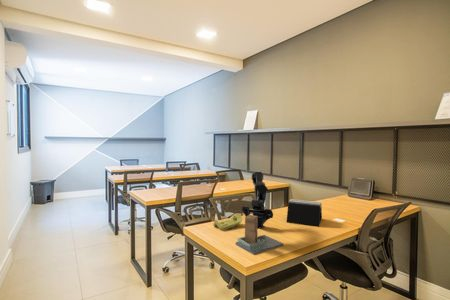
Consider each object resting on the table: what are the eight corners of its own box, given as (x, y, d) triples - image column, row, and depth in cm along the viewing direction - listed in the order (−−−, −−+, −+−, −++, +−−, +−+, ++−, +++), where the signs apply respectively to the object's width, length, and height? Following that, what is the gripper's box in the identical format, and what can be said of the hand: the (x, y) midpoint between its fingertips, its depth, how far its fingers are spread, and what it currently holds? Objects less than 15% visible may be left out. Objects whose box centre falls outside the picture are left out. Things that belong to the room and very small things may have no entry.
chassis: (264, 236, 156) (264, 231, 156) (283, 245, 143) (283, 239, 143) (235, 244, 144) (235, 238, 144) (253, 254, 131) (253, 248, 131)
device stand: (318, 227, 176) (319, 206, 175) (286, 222, 186) (286, 202, 185) (321, 218, 196) (322, 199, 196) (292, 215, 206) (292, 197, 205)
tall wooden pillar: (248, 240, 147) (248, 214, 147) (257, 242, 145) (257, 216, 144) (244, 243, 142) (245, 217, 142) (254, 245, 140) (254, 218, 140)
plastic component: (222, 227, 167) (214, 218, 174) (220, 236, 170) (212, 226, 177) (245, 220, 178) (237, 211, 185) (242, 228, 181) (234, 219, 188)
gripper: (242, 193, 156) (235, 215, 146) (272, 196, 147) (266, 219, 138) (247, 203, 163) (240, 224, 153) (275, 206, 154) (270, 229, 145)
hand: (253, 224), depth 147 cm, fingers open, 9 cm apart
